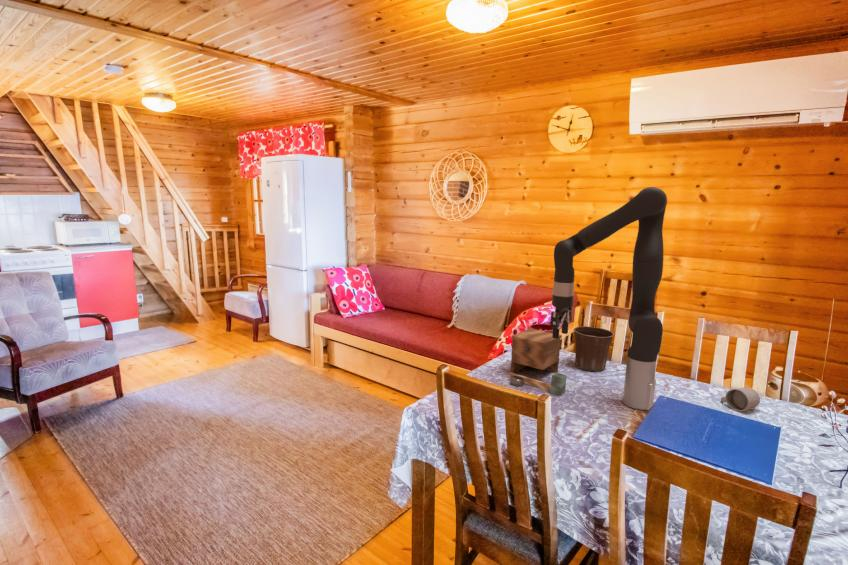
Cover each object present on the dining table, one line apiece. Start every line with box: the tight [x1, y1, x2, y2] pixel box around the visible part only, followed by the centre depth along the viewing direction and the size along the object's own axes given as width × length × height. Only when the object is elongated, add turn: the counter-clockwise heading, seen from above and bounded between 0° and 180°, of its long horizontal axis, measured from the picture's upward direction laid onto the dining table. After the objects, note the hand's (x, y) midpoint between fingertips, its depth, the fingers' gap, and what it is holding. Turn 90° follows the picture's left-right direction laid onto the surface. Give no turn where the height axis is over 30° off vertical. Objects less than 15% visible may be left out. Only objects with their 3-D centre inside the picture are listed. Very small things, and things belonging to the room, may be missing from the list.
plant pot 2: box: [528, 323, 553, 333], centre depth 214 cm, size 13×13×12 cm
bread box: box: [510, 328, 563, 374], centre depth 185 cm, size 15×16×16 cm
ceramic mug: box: [720, 387, 761, 412], centre depth 157 cm, size 11×8×8 cm
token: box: [509, 376, 524, 388], centre depth 174 cm, size 5×5×2 cm
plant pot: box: [573, 325, 615, 373], centre depth 193 cm, size 16×16×16 cm
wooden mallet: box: [509, 372, 567, 397], centre depth 171 cm, size 22×4×7 cm, turn 50°
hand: (560, 335), depth 168 cm, fingers open, 8 cm apart
